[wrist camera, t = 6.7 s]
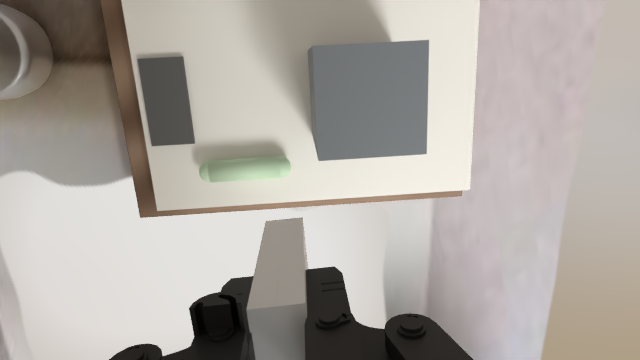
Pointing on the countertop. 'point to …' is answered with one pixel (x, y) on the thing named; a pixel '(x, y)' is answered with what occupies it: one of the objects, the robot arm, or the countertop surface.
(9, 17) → the plastic bottle
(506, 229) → the countertop surface
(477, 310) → the countertop surface
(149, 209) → the walnut base
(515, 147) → the countertop surface
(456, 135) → the plate
